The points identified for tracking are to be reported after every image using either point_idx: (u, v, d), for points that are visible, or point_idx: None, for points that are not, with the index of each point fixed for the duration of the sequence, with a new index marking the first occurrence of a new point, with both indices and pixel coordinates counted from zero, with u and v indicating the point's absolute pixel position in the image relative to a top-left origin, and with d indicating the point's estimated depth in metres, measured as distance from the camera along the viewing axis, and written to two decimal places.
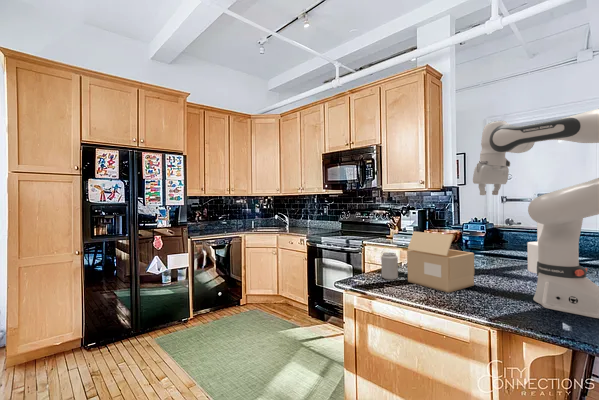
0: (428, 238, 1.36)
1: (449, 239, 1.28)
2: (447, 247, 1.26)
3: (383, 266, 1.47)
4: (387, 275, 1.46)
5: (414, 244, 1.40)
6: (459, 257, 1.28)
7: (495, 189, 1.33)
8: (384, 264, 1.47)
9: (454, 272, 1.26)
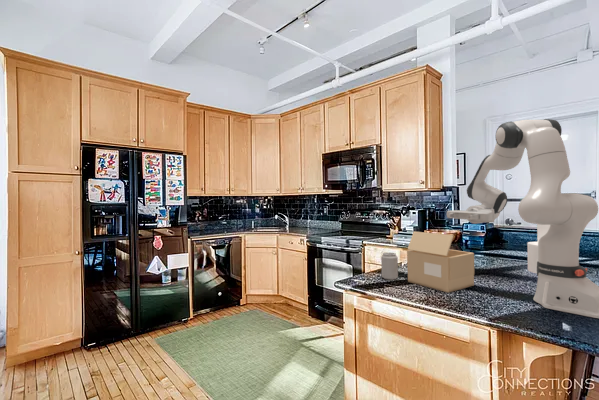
0: (428, 238, 1.36)
1: (449, 239, 1.28)
2: (447, 247, 1.26)
3: (383, 266, 1.47)
4: (387, 275, 1.46)
5: (414, 244, 1.40)
6: (459, 257, 1.28)
7: None
8: (384, 264, 1.47)
9: (454, 272, 1.26)
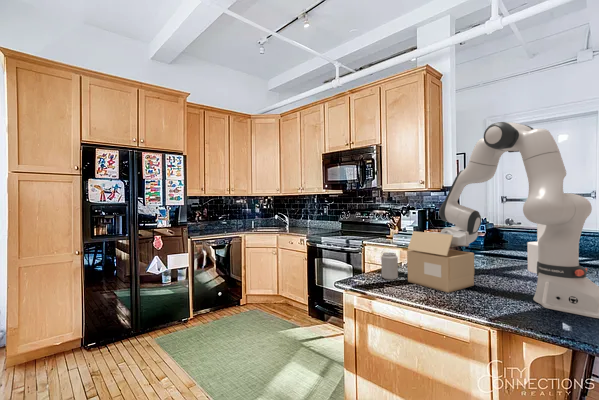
0: (428, 238, 1.36)
1: (448, 239, 1.28)
2: (447, 247, 1.26)
3: (383, 266, 1.47)
4: (387, 275, 1.46)
5: (414, 244, 1.40)
6: (459, 257, 1.28)
7: None
8: (384, 264, 1.47)
9: (454, 272, 1.26)
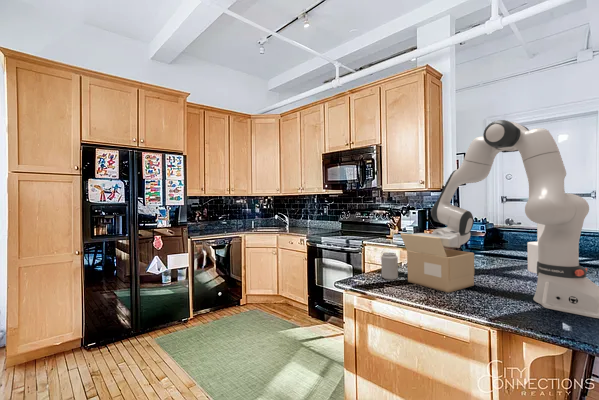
0: (418, 241, 1.32)
1: (438, 242, 1.24)
2: (442, 249, 1.25)
3: (383, 266, 1.47)
4: (387, 275, 1.46)
5: (410, 246, 1.38)
6: (459, 257, 1.28)
7: None
8: (384, 264, 1.47)
9: (454, 272, 1.26)
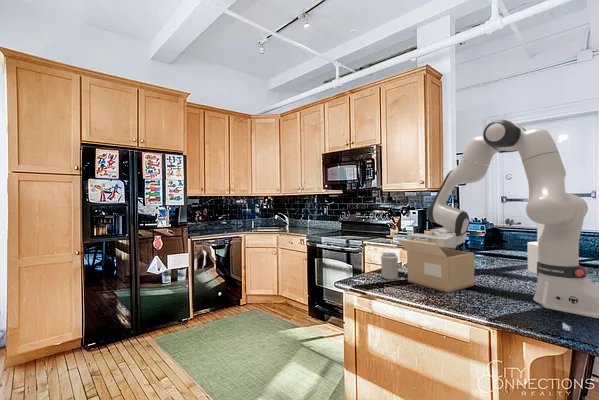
0: (416, 245, 1.31)
1: (435, 247, 1.23)
2: (440, 252, 1.24)
3: (383, 266, 1.47)
4: (387, 275, 1.46)
5: (409, 248, 1.38)
6: (459, 257, 1.28)
7: None
8: (384, 264, 1.47)
9: (454, 272, 1.26)
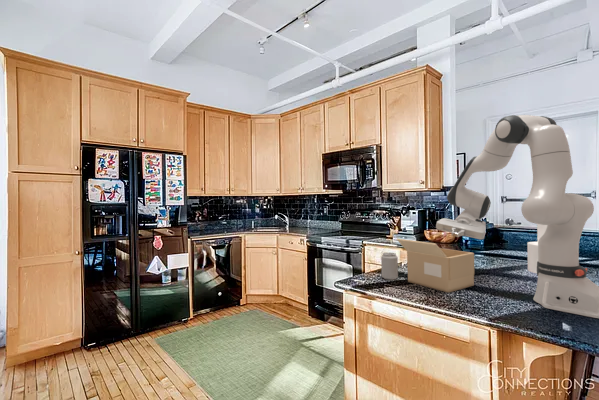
0: (416, 245, 1.31)
1: (435, 247, 1.23)
2: (440, 252, 1.24)
3: (383, 266, 1.47)
4: (387, 275, 1.46)
5: (409, 248, 1.38)
6: (459, 257, 1.28)
7: None
8: (384, 264, 1.47)
9: (454, 272, 1.26)
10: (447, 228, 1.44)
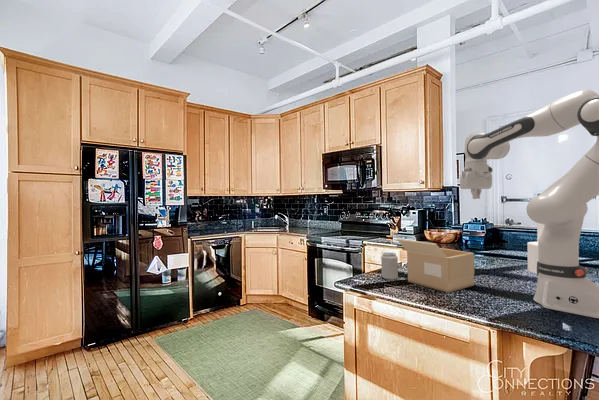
0: (416, 245, 1.31)
1: (435, 247, 1.23)
2: (440, 252, 1.24)
3: (383, 266, 1.47)
4: (387, 275, 1.46)
5: (409, 248, 1.38)
6: (459, 257, 1.28)
7: None
8: (384, 264, 1.47)
9: (454, 272, 1.26)
10: None
